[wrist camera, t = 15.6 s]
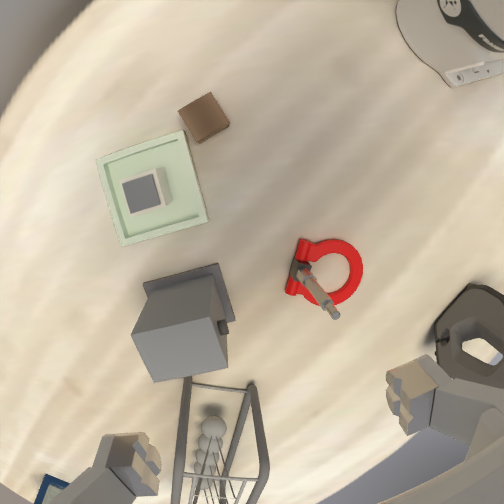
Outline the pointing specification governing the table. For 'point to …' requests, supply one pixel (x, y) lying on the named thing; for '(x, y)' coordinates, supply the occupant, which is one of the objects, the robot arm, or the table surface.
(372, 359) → the table surface
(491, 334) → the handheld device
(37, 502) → the protein box
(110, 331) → the table surface
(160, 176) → the block
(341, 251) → the tow hook
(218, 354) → the control box
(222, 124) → the walnut block
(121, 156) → the tray
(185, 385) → the newton's cradle
